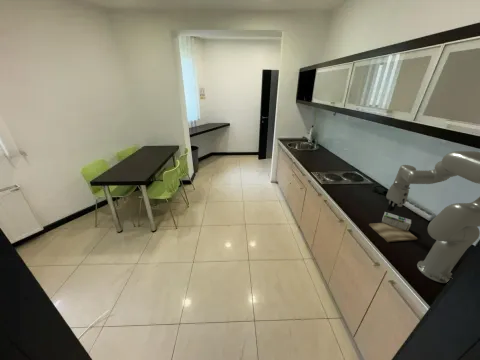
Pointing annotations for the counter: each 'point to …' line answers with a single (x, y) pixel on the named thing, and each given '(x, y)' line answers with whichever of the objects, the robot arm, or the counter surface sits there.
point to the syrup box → (396, 221)
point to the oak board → (392, 232)
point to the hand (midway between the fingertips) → (390, 210)
